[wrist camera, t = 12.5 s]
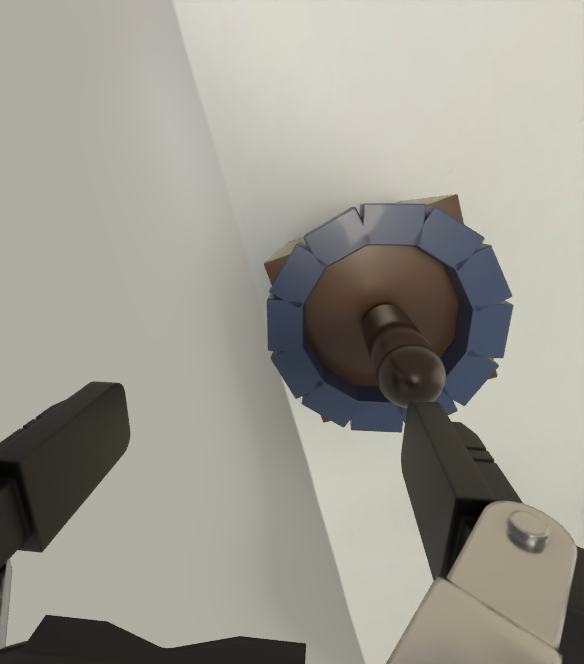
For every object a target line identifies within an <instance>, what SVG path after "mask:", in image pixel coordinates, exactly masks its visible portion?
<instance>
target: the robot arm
mask: <svg viewBox="0 0 584 664" xmlns="http://www.w3.org/2000/svg"><path fill="white" fill-rule="evenodd" d="M129 440H130V425H129V418H128V411H127V403H126V396H125V390H124V387H123V386H122V384H120V383H111V382H90V383H89V384H87V385H86V386H85V387H83V388H82V389H81V390H79V391H78V392H76V393H75V394H74V395H72V396H71V397H69V398H68V399H66V400H64V401H62V402H60V403H57V404H55V405H53V406H51V407H50V408H48V409H47V410H45V411H44V412H42V413H41V414H40V415H38V416H37V417H36V419H33V420H31V421H30V422H28V423H27V424H26V425H24V426H23V429H19V430H17V431H16V432H14V433H13V434H12V435H10V436H9V437H7V438H6V439H4V440H3V441H2V442H0V664H305V653H306V644H305V643H296V642H287V641H277V640H269V639H260V638H251V637H242V636H238V637H232V638H227V639H221V640H215V641H209V642H204V643H198V644H192V645H187V646H182V647H176V648H162V647H159V646H157V645H155V644H153V643H151V642H149V641H146V640H144V639H142V638H140V637H138V636H136V635H134V634H132V633H130V632H128V631H126V630H124V629H122V628H119V627H117V626H115V625H113V624H111V623H109V622H106V621H97V620H88V619H79V618H70V617H61V616H51V615H46V616H45V617H44V618H43V620H42V621H41V623H40V624H39V626H38V627H37V629H36V630H35V632H34V633H33V634H32V636H31V637H30V639H29V640H28V641H24V642H21V643H17V644H14V645H10V646H7V647H6V633H7V622H8V612H9V601H10V590H11V579H12V566H11V562H10V557H11V556H12V555H13V554H14V553H15V552H16V551H17V550H22V551H33V552H43V550H44V549H45V548H46V547H47V546H48V545H49V543H50V542H51V541H52V539H53V538H54V537H55V536H56V535H57V533H58V532H59V531H60V530H61V529H62V528H63V526H64V525H65V524H66V523H67V521H68V520H69V519H70V518H71V517H72V516H73V514H74V513H75V512H76V511H77V509H78V508H79V507H80V506H81V505H82V504H83V502H84V501H85V500H86V499H87V498H88V496H89V495H90V494H91V493H92V491H93V490H94V489H95V488H96V487H97V485H98V484H99V483H100V482H101V481H102V479H103V478H104V477H105V476H106V475H107V473H108V472H109V471H110V470H111V469H112V467H113V466H114V465H115V464H116V462H117V461H118V460H119V459H120V457H121V456H122V455H123V454H124V453H125V451H126V449H127V447H128V444H129ZM401 465H402V473H403V477H404V480H405V484H406V487H407V491H408V494H409V497H410V501H411V504H412V508H413V511H414V515H415V518H416V521H417V525H418V528H419V532H420V535H421V539H422V542H423V546H424V549H425V552H426V556H427V559H428V563H429V566H430V570H431V573H432V577H433V580H434V582H433V583H432V585H431V586H430V588H429V590H428V592H427V593H426V595H425V597H424V599H423V600H422V602H421V604H420V606H419V607H418V609H417V611H416V612H415V614H414V616H413V618H412V619H411V621H410V623H409V625H408V626H407V628H406V630H405V632H404V633H403V635H402V637H401V639H400V640H399V642H398V644H397V646H396V647H395V649H394V651H393V652H392V654H391V656H390V658H389V659H388V661H387V663H386V664H584V549H583V548H580V547H578V546H576V544H575V542H574V540H573V538H572V537H571V536H570V534H569V533H568V532H567V531H566V530H565V528H564V527H563V526H561V525H560V524H559V523H558V522H557V521H556V520H554V519H553V518H551V517H550V516H548V515H547V514H545V513H544V512H542V511H540V510H538V509H536V508H533V507H531V506H528V505H525V504H523V502H522V501H521V499H520V498H519V497H518V495H517V494H516V492H515V491H514V489H513V488H512V486H511V485H510V483H509V482H508V480H507V479H506V477H505V476H504V474H503V473H502V471H501V470H500V468H499V467H498V465H497V464H496V463H494V459H493V458H492V456H491V455H490V453H489V452H488V451H486V447H485V446H484V444H483V443H482V441H481V440H480V439H479V437H478V436H477V434H475V433H474V432H473V431H471V430H470V429H469V428H467V427H466V426H465V425H463V424H462V423H461V422H451V421H450V419H449V417H448V416H447V414H446V412H445V410H444V409H443V407H442V405H441V404H440V403H438V402H422V401H410V402H409V404H408V407H407V413H406V421H405V428H404V436H403V443H402V451H401Z"/></svg>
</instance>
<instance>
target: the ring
mask: <svg viewBox="0 0 584 664" xmlns="http://www.w3.org/2000/svg"><path fill="white" fill-rule="evenodd" d="M303 239H304V240H305V242H306V244H307V245H306V244H304V243H303V242H301V241H299V242H298V243H297V244H296V245H295V247H294V248H293V250H292V252H291V254H290V256H289V257H288V259H287V261H286V263H285V264H284V266H283V268H282V270H281V271H280V273H279V275H278V277H277V278H276V280H275V282H274V284H273V285H272V287H271V289H270V291H269V292H270V293H272V294H271V295H270V297H269V298H268V300H267V324H268V350H269V351H273V353H272V356H271V360H272V361H273V363H274V364H275V366H276V367H277V369H278V371H279V373H280V374H281V376H282V377H283V379H284V381H285V382H286V384H287V385H288V387H289V389H290V390H291V392H292V393H293V395H294V397H295V398H296V399H297V398H299V397H301V396H303V398H302V404H303V405H304V406H306V407H308V408H310V409H311V410H313V411H315V412H317V413H319V414H320V415H322V416H324V417H326V418H327V419H329V420H331V421H333V422H335V423H336V424H338V425H340V426H342V427H345V426H346V424H347V423H348V422H349V420H350V424H351V430H360V431H380V432H402V425H403V421H404V423H405V421H406V413H407V408H404V407H400V406H397V405H395V404H394V403H392V402H391V401H389V400H388V399H387V398H386V397H385V396H384V395H383V393H382V392H381V390H380V388H379V387H364V386H354V385H352V384H351V383H349V382H347V381H345V380H344V379H342V378H340V377H338V376H337V375H335V374H333V373H331V372H330V371H328V370H326V369H324V368H323V366H322V364H321V363H320V361H319V359H318V358H317V356H316V354H315V353H314V351H313V349H312V347H311V346H310V344H309V342H308V341H307V339H306V337H305V302H306V301H307V299H308V297H309V296H310V294H311V292H312V291H313V289H314V288H315V286H316V284H317V283H318V281H319V279H320V278H321V276H322V274H323V273H324V271H325V269H326V268H327V267H329V266H331V265H333V264H334V263H336V262H338V261H340V260H342V259H343V258H345V257H347V256H349V255H351V254H352V253H354V252H356V251H358V250H360V249H361V248H363V247H365V246H367V245H411V246H414V247H416V248H417V249H419V250H421V251H422V252H424V253H426V254H427V255H429V256H430V257H432V258H434V259H435V260H437V261H438V262H440V263H442V264H443V265H444V267H445V269H446V271H447V273H448V276H449V278H450V280H451V282H452V284H453V286H454V289H455V291H456V293H457V295H458V297H459V299H460V307H459V313H458V320H457V327H456V334H455V341H454V342H453V343H452V344H451V346H450V347H449V348H448V349H447V351H446V352H445V353H444V354H443V356H442V357H441V360H442V362H443V365H444V367H445V372H446V380H445V385H444V388H443V390H442V392H441V394H440V395H439V396H438V398H437V399H436V400H435V401H433V402H438V403H440V404H441V405H442V407H443V409H444V410H445V412H446V414H447V415H449V414H452V413H454V412H457V408H456V406H455V404H454V402H453V400H455V401H456V402H458V403H460V404H461V405H463V406H465V405H466V404H467V403H468V401H469V400H470V399H471V398H472V397H473V396H474V395H475V393H476V392H477V391H478V390H479V389H480V388H481V386H482V385H483V384H484V383H485V382H486V381H487V379H488V378H489V377H490V376H491V375H492V374H493V373H494V371H495V370H496V369H497V368H498V367H499V365H498V364H497V363H496V362H495V361H494V360H493V359H492V358H503V357H504V352H505V346H506V341H507V336H508V331H509V326H510V320H511V315H512V310H513V305H512V304H510V303H508V302H506V301H504V300H506V299H508V298H510V297H512V294H511V291H510V289H509V287H508V284H507V282H506V280H505V277H504V275H503V272H502V270H501V268H500V265H499V263H498V261H497V258H496V256H495V253H494V251H493V249H492V246H491V245H488V244H483V243H482V242H483V240H484V239H485V238H484V237H483V236H481V235H480V234H478V233H477V232H475V231H473V230H472V229H470V228H469V227H467V226H465V225H464V224H462V223H461V222H459V221H458V220H456V219H454V218H453V217H451V216H450V215H448V214H447V213H445V212H443V211H442V210H440V209H439V208H437V207H426V204H361V206H360V215H359V213H358V211H357V209H356V208H355V207H351V208H349V209H348V210H346V211H344V212H342V213H341V214H339V215H337V216H336V217H334V218H332V219H331V220H329V221H327V222H325V223H324V224H322V225H320V226H319V227H317V228H315V229H314V230H312V231H310V232H308V233H307V234H306V235H305V236H304V237H303ZM452 399H453V400H452Z"/></svg>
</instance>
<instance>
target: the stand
mask: <svg viewBox="0 0 584 664" xmlns="http://www.w3.org/2000/svg"><path fill="white" fill-rule="evenodd" d="M395 204H426V207H437V208H439V209H440V210H442V211H443V212H445V213H447V214H448V215H450V216H451V217H453V218H454V219H456V220H458V221H459V222H461V223H462V224H464V223H463V218H462V213H461V209H460V204H459V200H458V195H457V194H455V195H447V196H439V197H431V198H423V199H415V200H407V201H400V202H397V203H395ZM299 241H301V242H303V243H304V244H306V242H305V240H304V239H303V237H302V238H299V239H296V240H294V241H291V242H289V243H288V244H287V245H285V246H284V247H283V248H282V249H281V250H279V251H278V252H277V253H276V254H275V255H274V256H272V257H271V258H270V259H269V260H268V261H266V262H265V263H264V266H265V269H266V271H267V274H268V276H269V279H270V282H271V284H272V285H273V284H274V282H275V280H276V278H277V277H278V275H279V273H280V271H281V270H282V268H283V266H284V264H285V263H286V261H287V259H288V257H289V256H290V254H291V252H292V250H293V248H294V247H295V245H296V244H297V243H298V242H299ZM306 245H307V244H306ZM459 307H460V299H459V297H458V295H457V293H456V291H455V289H454V286H453V284H452V282H451V280H450V278H449V276H448V273H447V271H446V269H445V267H444V265H443V264H442V263H440V262H438V261H437V260H435V259H434V258H432V257H430V256H429V255H427V254H426V253H424V252H422V251H421V250H419V249H417V248H416V247H414V246H411V245H367V246H365V247H363V248H361V249H360V250H358V251H356V252H354V253H352V254H351V255H349V256H347V257H345V258H343V259H342V260H340V261H338V262H336V263H334V264H333V265H331V266H329V267H327V268H326V269H325V271H324V273H323V274H322V276H321V278H320V279H319V281H318V283H317V284H316V286H315V288H314V289H313V291H312V292H311V294H310V296H309V297H308V299H307V301H306V302H305V337H306V339H307V341H308V342H309V344H310V346H311V347H312V349H313V351H314V353H315V354H316V356H317V358H318V359H319V361H320V363H321V364H322V366H323V368H324V369H326V370H328V371H330V372H331V373H333V374H335V375H337V376H338V377H340V378H342V379H344V380H345V381H347V382H349V383H351V384H352V385H354V386H364V387H379V388H380V390H381V392H382V393H383V395H384V396H385V397H386V398H387V399H388V400H389V401H391V402H392V403H394V404H395V405H397V406H400V407H404V408H407V407H408V404H409V402H410V401H422V402H433V401H435V400H436V399H437V398H438V396H439V395H440V394H441V392H442V390H443V388H444V385H445V380H446V372H445V367H444V365H443V362H442V360H441V357H442V356H443V354H444V353H445V352H446V351H447V349H448V348H449V347H450V346H451V344H452V343H453V342H454V341H455V334H456V327H457V320H458V313H459ZM492 359H493V358H492ZM493 360H494V359H493ZM495 377H497V373H496V370H495V371H494V373H493V374H492V375H491V376H490V377H489V378H488V379H491V378H495ZM321 417H322V420H323V422H328V421H331V420H329V419H327V418H326V417H324V416H322V415H321Z"/></svg>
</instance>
